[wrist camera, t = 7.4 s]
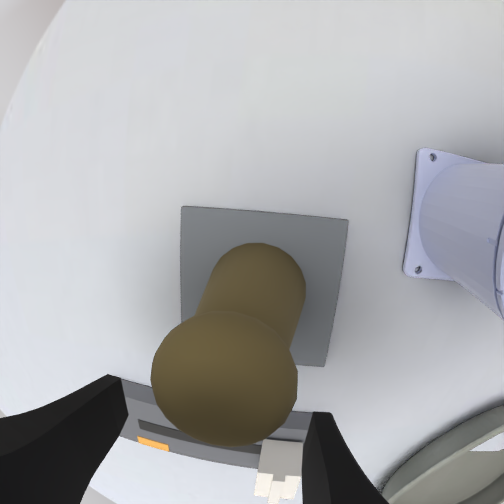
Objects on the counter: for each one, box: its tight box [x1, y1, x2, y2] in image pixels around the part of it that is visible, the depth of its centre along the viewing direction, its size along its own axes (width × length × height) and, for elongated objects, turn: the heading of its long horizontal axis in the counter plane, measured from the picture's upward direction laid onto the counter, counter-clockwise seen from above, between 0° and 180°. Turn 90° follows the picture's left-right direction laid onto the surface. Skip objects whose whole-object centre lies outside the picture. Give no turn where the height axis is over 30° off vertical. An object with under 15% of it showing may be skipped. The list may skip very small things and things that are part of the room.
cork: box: [150, 243, 306, 447], centre depth 14 cm, size 6×6×11 cm
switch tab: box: [254, 439, 303, 504], centre depth 18 cm, size 3×4×4 cm
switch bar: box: [119, 379, 313, 469], centre depth 22 cm, size 18×6×2 cm, turn 86°
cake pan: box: [382, 405, 504, 504], centre depth 20 cm, size 25×25×4 cm
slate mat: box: [180, 206, 348, 367], centre depth 19 cm, size 10×10×1 cm
